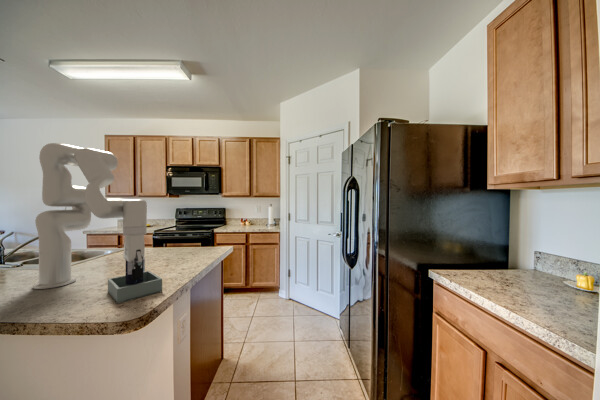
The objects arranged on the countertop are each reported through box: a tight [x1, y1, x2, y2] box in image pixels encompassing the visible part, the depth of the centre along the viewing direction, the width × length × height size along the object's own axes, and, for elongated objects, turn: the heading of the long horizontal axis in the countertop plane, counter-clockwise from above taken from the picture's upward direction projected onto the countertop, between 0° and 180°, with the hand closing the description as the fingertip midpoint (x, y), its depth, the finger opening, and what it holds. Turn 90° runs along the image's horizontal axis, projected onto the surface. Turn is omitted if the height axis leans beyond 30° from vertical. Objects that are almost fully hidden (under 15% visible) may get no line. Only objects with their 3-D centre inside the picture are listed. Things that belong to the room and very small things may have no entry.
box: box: [107, 270, 163, 304], centre depth 90 cm, size 16×14×5 cm
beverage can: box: [125, 256, 144, 286], centre depth 90 cm, size 6×6×12 cm
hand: (134, 276), depth 90 cm, fingers closed on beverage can, 5 cm apart
